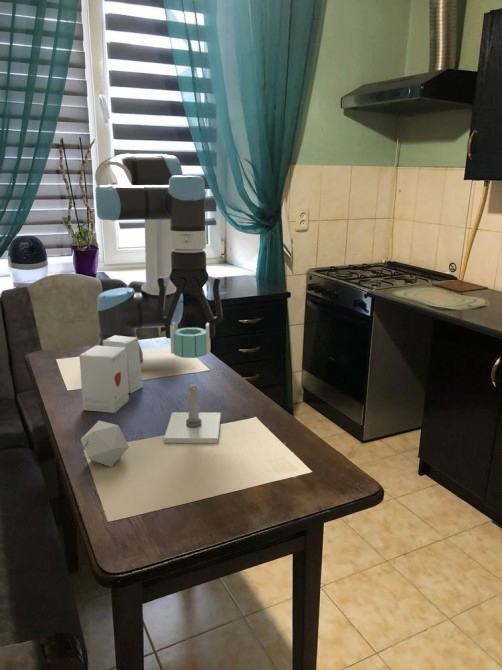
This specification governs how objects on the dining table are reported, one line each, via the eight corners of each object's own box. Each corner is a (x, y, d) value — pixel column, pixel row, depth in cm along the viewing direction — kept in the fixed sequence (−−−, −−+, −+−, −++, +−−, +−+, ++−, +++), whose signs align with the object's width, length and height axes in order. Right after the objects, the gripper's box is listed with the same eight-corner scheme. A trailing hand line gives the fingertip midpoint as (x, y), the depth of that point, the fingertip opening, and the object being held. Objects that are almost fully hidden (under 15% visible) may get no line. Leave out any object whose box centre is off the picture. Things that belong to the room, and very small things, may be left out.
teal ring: (177, 348, 126) (176, 327, 124) (207, 348, 126) (207, 327, 125) (172, 357, 119) (172, 335, 118) (205, 357, 119) (205, 336, 118)
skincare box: (143, 387, 153) (140, 337, 149) (130, 394, 148) (127, 342, 144) (118, 383, 157) (115, 333, 153) (105, 390, 151) (102, 339, 147)
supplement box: (115, 414, 136) (111, 357, 132) (82, 410, 137) (77, 354, 133) (130, 400, 144) (127, 346, 140) (99, 397, 146) (95, 344, 142)
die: (91, 452, 118) (67, 430, 110) (126, 428, 119) (105, 405, 112) (104, 481, 112) (80, 459, 105) (141, 456, 114) (119, 433, 106)
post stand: (172, 416, 134) (171, 374, 131) (220, 417, 134) (220, 374, 131) (164, 442, 121) (162, 395, 118) (217, 443, 121) (217, 396, 118)
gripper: (138, 252, 112) (143, 356, 119) (234, 252, 113) (234, 357, 119) (145, 248, 120) (149, 346, 126) (235, 248, 120) (235, 347, 126)
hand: (190, 351), depth 122 cm, fingers closed on teal ring, 7 cm apart
